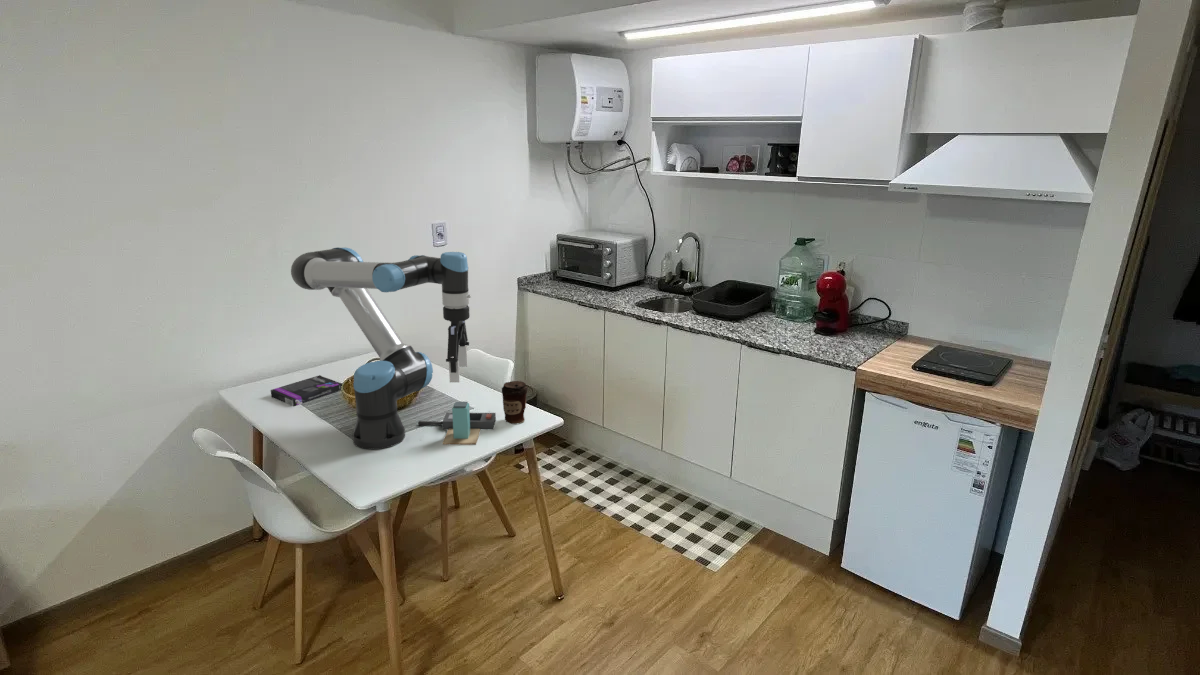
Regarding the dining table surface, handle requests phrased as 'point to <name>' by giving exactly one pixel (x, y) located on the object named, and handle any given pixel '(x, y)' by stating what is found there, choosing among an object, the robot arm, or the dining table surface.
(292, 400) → the box
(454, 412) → the block
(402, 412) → the dining table surface
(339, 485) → the dining table surface
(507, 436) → the dining table surface
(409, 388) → the robot arm
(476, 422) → the strip
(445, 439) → the pad
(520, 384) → the coffee cup
